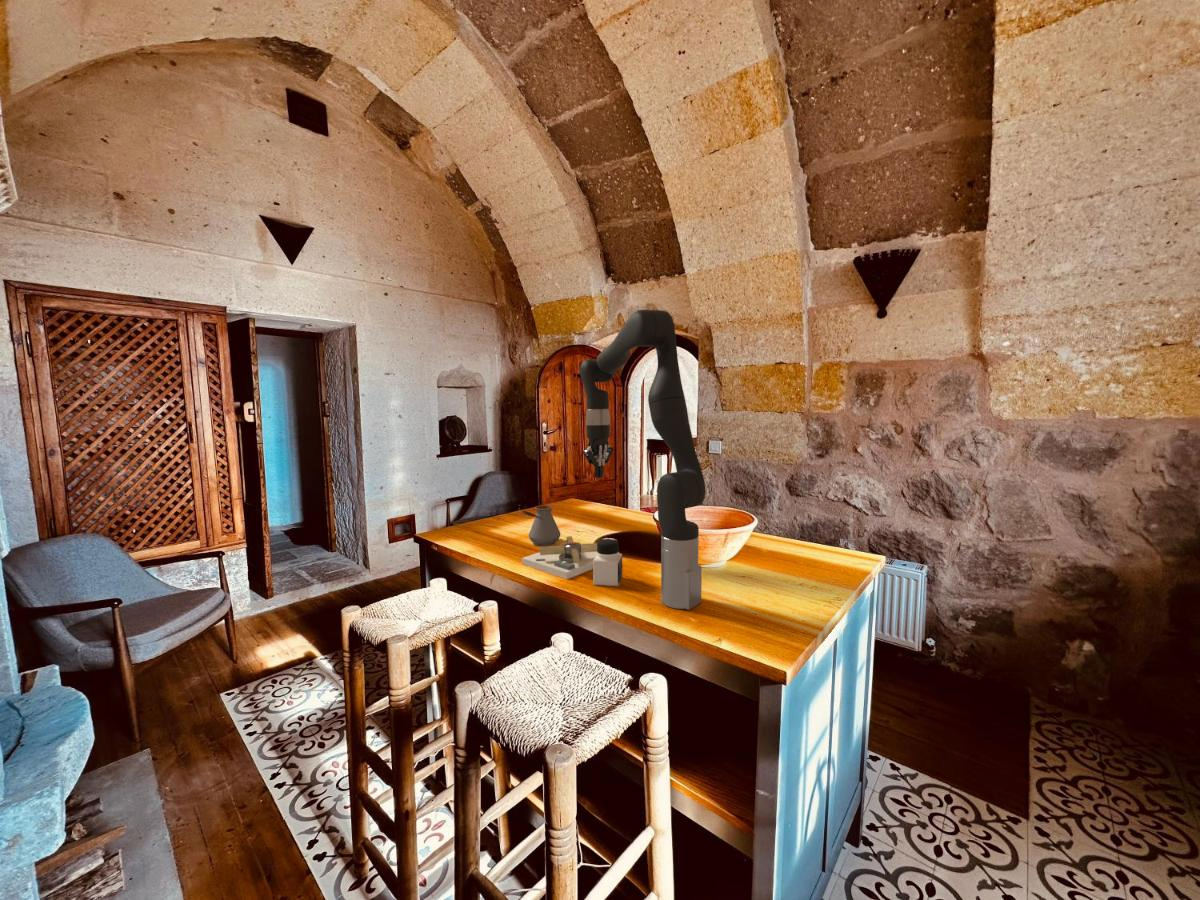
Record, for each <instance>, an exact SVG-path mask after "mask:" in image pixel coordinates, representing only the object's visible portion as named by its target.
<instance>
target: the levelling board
mask: <svg viewBox="0 0 1200 900" xmlns="http://www.w3.org/2000/svg"><path fill="white" fill-rule="evenodd" d="M559 555H561V554H553V555H540V551H539V552H536V553H533V554H530V555H527V556H525V557H524V556H523V557H522V558H521V564H522V565H524V566H526V567H529V568H532V569H534V570H538V571H541V572H544V573H547V574H550V575H554V576H556V577H560V578H561V579H566V580H568V579H571V578H574V577H576V576H578V575H582V574H584V573H586V572H588V571H592V570H593V560H594V559H595V557H596V556H597V552H583V553H581V556H582V558H581V560H579V563H574V562H566V561H562V560H559Z"/></svg>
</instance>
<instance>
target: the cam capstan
mask: <svg viewBox="0 0 1200 900" xmlns="http://www.w3.org/2000/svg"><path fill="white" fill-rule="evenodd" d="M539 552H540V555H553V554H561V555H559V560H562V561H566V562H574V563H579V560H581V558H582V556H581V553H583V552H597V542H593V543H580V542H577V541H574V538H573V537H572V536H568V535H567V536H566V542H561V543H560V545H544V546H539Z"/></svg>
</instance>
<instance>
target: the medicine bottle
mask: <svg viewBox="0 0 1200 900" xmlns="http://www.w3.org/2000/svg"><path fill="white" fill-rule="evenodd" d="M596 543H597V556H596V557H595V559H594V560H593V569H592V570H593V571H592V573H593V574H592V576H593V577H592V579H593V581H592V582H593V585H594V586H605V587H606V586H608V587H619V586H620V583H621V581H622V579H623V554H622V553H620V552H619V547H620V545H619V541H618V540H617V539H615V538H610V537H609V538H608V537H605V538H601V539H599V540H597V541H596Z"/></svg>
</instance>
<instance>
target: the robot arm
mask: <svg viewBox="0 0 1200 900" xmlns="http://www.w3.org/2000/svg"><path fill="white" fill-rule="evenodd" d="M619 330H620V331H618V333H617V335H616V336H615V338H614V340H613V341H612V342H611V343H610V344H609V345H607V346H606V347H605V348H604V349H603V350H602V351H601V352H600V353H599V354H598V356H597V357H596V359H591V358H590V359H584V360H583V361H582V363H581V365H580V368H579V372H580V373H579V374H580V378H581V382H582V385H583V388H584V392H585V398H586V415H585V424H586V425H585V426H586V427H585V429H586V431H585V432H586V438H587V439H588V443H587V448H586V449H583V450H582V454H583V455H584V457H585V459H586V460H587V462H588V464H589V465H590V466H591V465H592V466H593V468H594V469H593V470H594V476H595V479H602V478H604V474H605V473H604V467H605V465H606V464H608V463H609V461H610V458H611V457H612V455H613V452H614V450H615V449H614V447H613V446H611V445H610V442H609V439H610V438H611V415H610V400H609V398H610V397H609V392H608V391H607V390H604V389H601V388H598V387H597V384H596V383H607V382H610V381H612V380H613V379H614V376H615V374H616V373H617V372H618V370H620V368H622V367H623V366H624V365H625V364H626V363H627V362H628V361H629V359H630V355H631V349H635V348H636V347H643V348H647V347H649V348H650V347H651V348H653V347H655V351H656V356H657V358H656V359H657V368H656V373H655V374H654V375H655V376H654V378H653V380H652V383H651V386H650V388H649V392H648V397H647V401H648V402H647V403H648V409H649V414H650V418H651V422H652V425H653V427H654V429H655V431H656V432H657V434H658V435H659V436H660V437H661V439H662V440H663V442H664V443H665V444H666V446H667V447H668V449H669V451H670V453H671V455H672V457H673V460H674V463H675V472H673V471H672V472H669V473H666V474H662V476H661V477H660V478H659V480H658V484H657V488H656V496H657V497H656V500H657V501H656V502H657V517H658V518H657V519H658V524H659V526H660V535H661V536H660V537H661V538H660V541H661V542H660V543H661V546H660V549H661V550H660V552H661V553H660V556H661V557H660V563H661V565H660V568H661V569H660V570H661V571H660V579H661V581H660V586H661V588H660V589H661V590H660V601H661V603H662V604H663V605H665V606H666V607H670V608H671V609H680V610H681V609H682V610H687V611H688V610H689V611H690V610H692V609H693V608H694V607H696V606H698V605H699V604H701V603H702V581H703V580H702V578H703V577H702V574H703V573H702V571H703V569H702V565H699V542H700V541H699V532H700V531H699V530H700V529H699V525H698V524H697V523H696V522H694V521H691V520H688V519H687V517H686V509H689V508H694V507H699V506H700V505H701V504H702V503H703V502H704V501H705V499H706V494H707V493H706V492H707V491H706V482H705V477H704V474H703V471H702V468H701V465H700V461H699V457H698V455H697V451H696V447H695V442H694V438H693V432H692V429H691V425H690V420H689V419H690V418H689V413H688V407H687V402H686V401H687V400H686V397H685V393H684V389H683V383H682V379H681V377H682V376H681V373H680V366H679V359H678V350H677V349H678V347H677V337H676V328H675V323H674V320H673V317H672V316H671V314H670V313H669V312H668V311H667V310H660V309H639V310H636V311H634V312H633V313H632V314H631V315H630V316H629V317H628V319H627V320H626V321H625V323H624V325H623V326H622V327H621V329H619Z"/></svg>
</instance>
